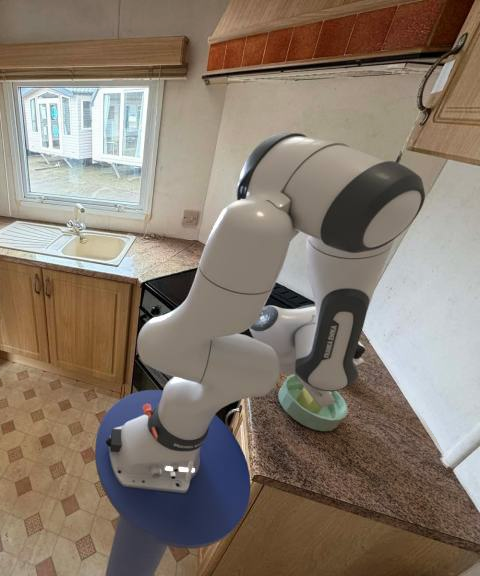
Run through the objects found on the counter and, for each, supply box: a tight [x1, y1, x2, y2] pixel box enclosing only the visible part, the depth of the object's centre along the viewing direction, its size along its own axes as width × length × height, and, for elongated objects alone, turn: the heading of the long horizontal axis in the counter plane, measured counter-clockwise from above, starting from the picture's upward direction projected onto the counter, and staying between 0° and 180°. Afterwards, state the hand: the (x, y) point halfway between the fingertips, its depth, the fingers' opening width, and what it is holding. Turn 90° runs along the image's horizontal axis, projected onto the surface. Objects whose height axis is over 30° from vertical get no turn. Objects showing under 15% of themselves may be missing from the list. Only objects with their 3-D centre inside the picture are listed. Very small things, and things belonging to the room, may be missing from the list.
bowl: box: [277, 374, 349, 432], centre depth 86 cm, size 15×15×6 cm
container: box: [354, 341, 366, 371], centre depth 97 cm, size 8×8×13 cm
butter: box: [296, 388, 332, 413], centre depth 86 cm, size 4×4×8 cm
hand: (310, 383), depth 82 cm, fingers open, 8 cm apart
